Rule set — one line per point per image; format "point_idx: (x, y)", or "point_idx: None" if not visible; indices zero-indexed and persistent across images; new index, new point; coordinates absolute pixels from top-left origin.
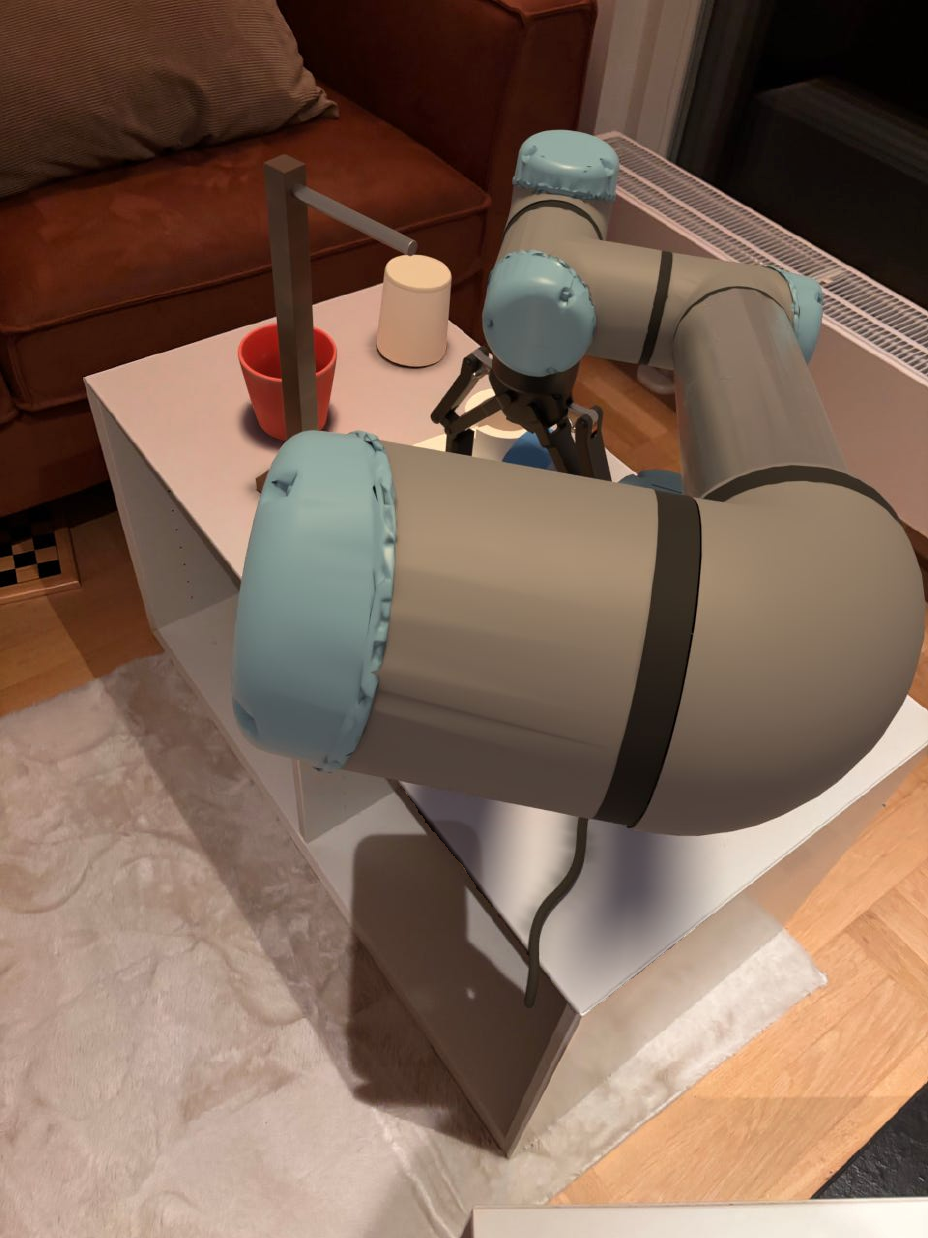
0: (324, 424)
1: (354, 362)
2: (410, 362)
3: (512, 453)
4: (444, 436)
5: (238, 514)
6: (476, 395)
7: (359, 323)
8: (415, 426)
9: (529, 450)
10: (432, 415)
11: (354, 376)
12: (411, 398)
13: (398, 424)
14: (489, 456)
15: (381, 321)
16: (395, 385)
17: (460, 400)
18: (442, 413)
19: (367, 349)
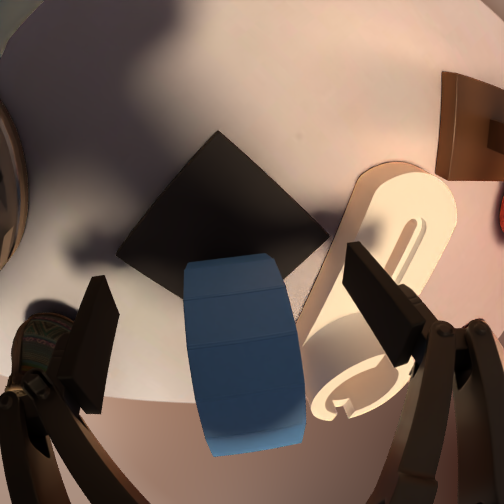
0: (501, 220)
1: (495, 296)
2: None
3: (292, 393)
4: None
5: (497, 48)
6: (407, 377)
7: (497, 324)
8: (433, 292)
9: (264, 420)
10: (487, 329)
11: (492, 286)
12: (448, 311)
13: (448, 280)
14: (344, 333)
15: (499, 342)
16: (463, 309)
17: (466, 406)
18: (481, 352)
19: (489, 314)
